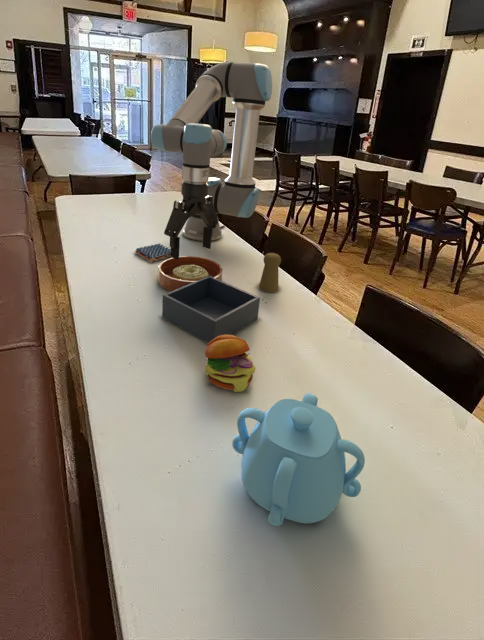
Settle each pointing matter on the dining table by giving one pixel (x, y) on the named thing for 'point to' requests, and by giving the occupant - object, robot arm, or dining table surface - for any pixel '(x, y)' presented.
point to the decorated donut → (189, 273)
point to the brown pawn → (270, 273)
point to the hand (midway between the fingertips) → (191, 252)
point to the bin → (210, 308)
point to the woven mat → (154, 252)
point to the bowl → (170, 264)
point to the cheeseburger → (229, 363)
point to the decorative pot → (296, 461)
